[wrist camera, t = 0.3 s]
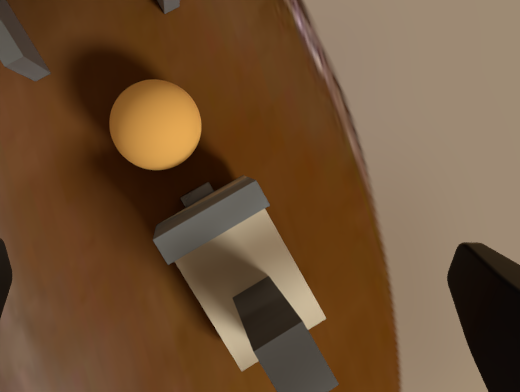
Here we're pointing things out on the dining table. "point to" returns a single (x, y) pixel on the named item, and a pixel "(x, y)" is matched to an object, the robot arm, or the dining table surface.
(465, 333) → the robot arm
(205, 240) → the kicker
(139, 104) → the ball
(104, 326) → the dining table surface
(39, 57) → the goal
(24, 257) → the dining table surface
